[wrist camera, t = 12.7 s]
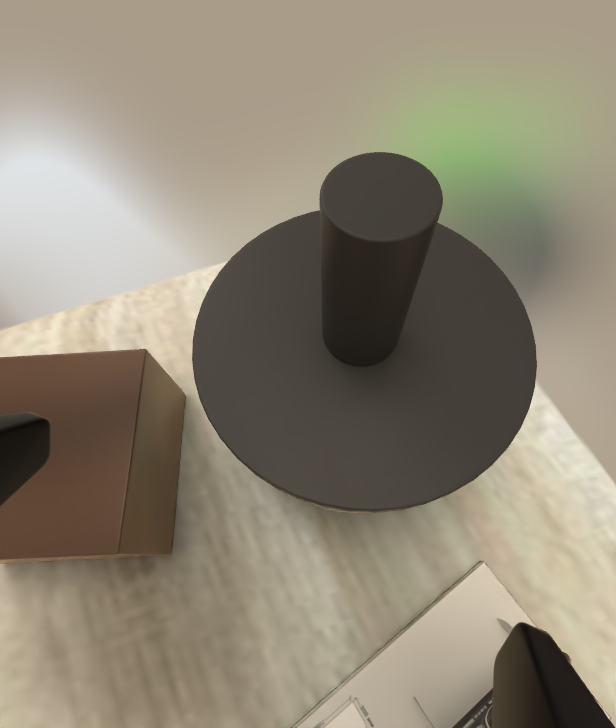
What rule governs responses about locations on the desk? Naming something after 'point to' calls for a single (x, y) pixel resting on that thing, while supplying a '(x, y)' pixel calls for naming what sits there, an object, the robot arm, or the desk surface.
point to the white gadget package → (432, 665)
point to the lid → (365, 347)
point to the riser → (95, 457)
